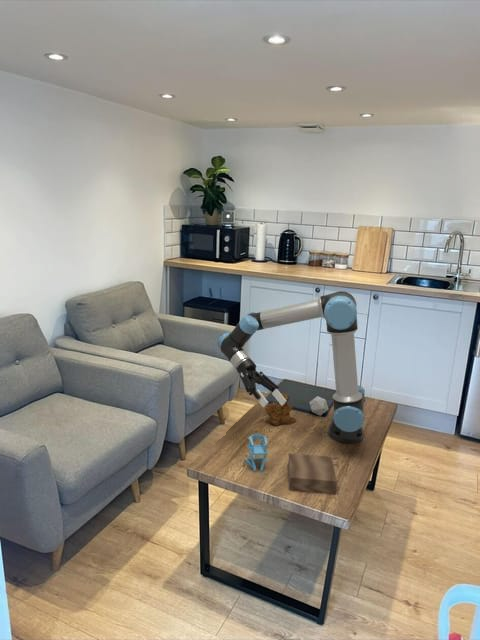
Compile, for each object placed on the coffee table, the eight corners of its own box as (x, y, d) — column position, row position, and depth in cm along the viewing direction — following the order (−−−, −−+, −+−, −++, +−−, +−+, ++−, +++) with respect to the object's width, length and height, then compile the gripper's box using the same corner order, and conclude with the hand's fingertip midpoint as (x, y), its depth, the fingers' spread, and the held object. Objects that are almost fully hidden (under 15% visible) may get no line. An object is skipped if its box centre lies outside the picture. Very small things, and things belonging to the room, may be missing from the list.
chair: (248, 472, 172) (250, 443, 169) (244, 460, 180) (246, 432, 177) (268, 471, 174) (270, 442, 171) (264, 459, 182) (265, 431, 179)
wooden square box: (330, 468, 177) (331, 456, 176) (335, 493, 162) (337, 481, 161) (287, 465, 178) (288, 453, 177) (289, 490, 163) (290, 477, 162)
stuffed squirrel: (297, 421, 214) (299, 395, 211) (276, 430, 205) (278, 402, 202) (281, 413, 221) (283, 388, 218) (260, 422, 212) (262, 395, 209)
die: (311, 409, 230) (304, 397, 224) (327, 402, 228) (321, 390, 223) (316, 421, 223) (309, 410, 217) (332, 414, 222) (326, 402, 216)
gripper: (255, 371, 200) (285, 409, 189) (219, 370, 179) (251, 412, 169) (265, 359, 197) (297, 396, 187) (230, 356, 177) (263, 398, 167)
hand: (275, 404), depth 178 cm, fingers open, 13 cm apart
